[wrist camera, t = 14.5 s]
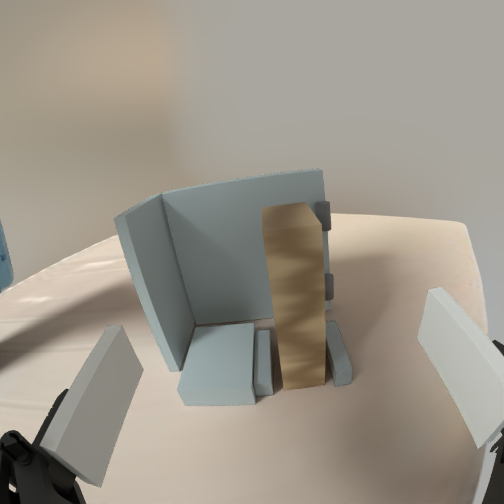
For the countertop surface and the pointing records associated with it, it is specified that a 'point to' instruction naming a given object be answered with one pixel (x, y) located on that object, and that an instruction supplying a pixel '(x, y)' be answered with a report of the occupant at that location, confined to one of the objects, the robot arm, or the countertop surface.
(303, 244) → the door panel
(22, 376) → the countertop surface
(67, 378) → the countertop surface
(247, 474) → the countertop surface
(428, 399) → the countertop surface
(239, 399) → the cabinet
